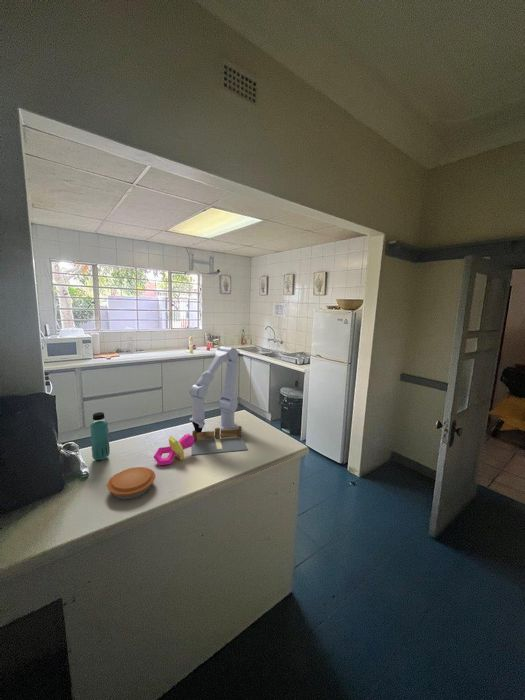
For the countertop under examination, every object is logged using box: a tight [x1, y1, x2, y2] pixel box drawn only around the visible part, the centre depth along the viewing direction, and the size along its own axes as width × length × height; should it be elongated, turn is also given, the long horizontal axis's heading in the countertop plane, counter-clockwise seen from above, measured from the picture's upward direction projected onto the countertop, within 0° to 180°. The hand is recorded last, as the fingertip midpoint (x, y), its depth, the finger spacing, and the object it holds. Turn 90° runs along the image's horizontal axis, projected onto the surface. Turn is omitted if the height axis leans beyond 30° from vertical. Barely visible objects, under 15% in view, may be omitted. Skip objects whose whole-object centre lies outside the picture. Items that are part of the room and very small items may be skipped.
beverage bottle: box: [89, 411, 111, 461], centre depth 115 cm, size 6×7×20 cm
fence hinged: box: [191, 429, 215, 441], centre depth 135 cm, size 10×2×5 cm, turn 110°
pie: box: [106, 466, 156, 501], centre depth 98 cm, size 15×16×5 cm
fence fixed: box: [214, 425, 242, 439], centre depth 139 cm, size 2×13×5 cm, turn 105°
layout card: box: [190, 433, 249, 456], centre depth 133 cm, size 17×25×1 cm
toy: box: [153, 433, 194, 466], centre depth 119 cm, size 10×18×10 cm, turn 133°
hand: (198, 435), depth 136 cm, fingers closed
